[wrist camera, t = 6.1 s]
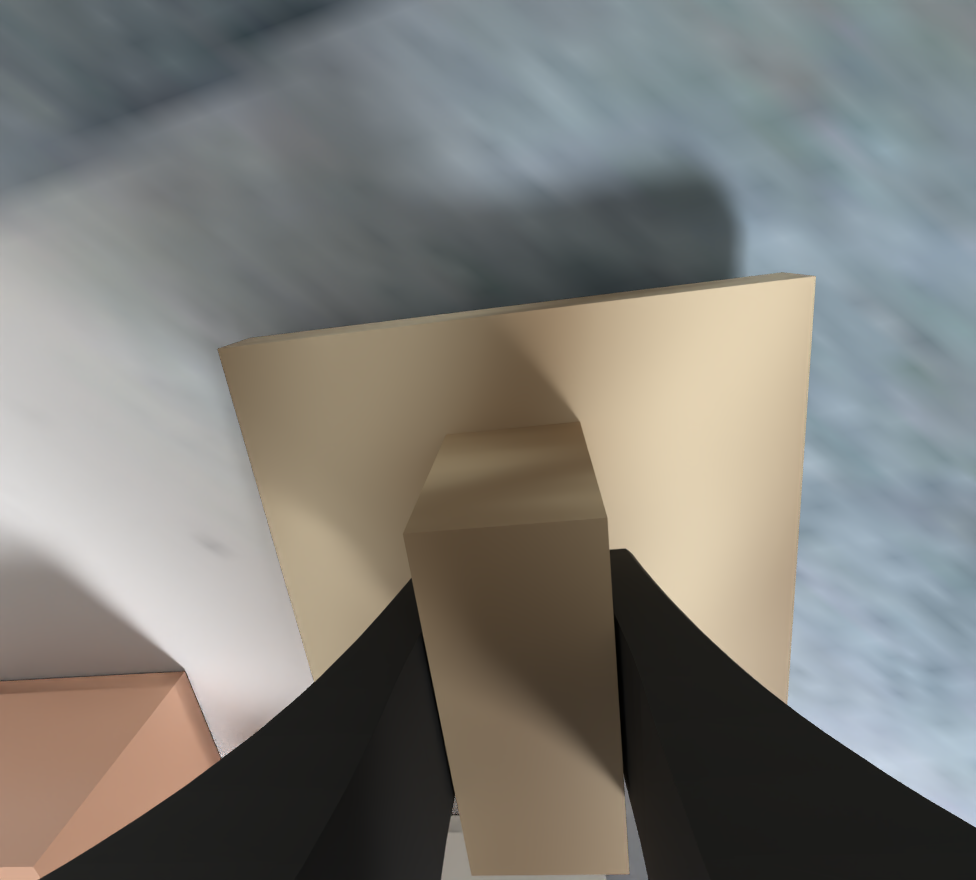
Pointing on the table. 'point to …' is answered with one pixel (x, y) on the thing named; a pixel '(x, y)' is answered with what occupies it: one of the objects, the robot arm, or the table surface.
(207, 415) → the table surface
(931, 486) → the table surface
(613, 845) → the lid
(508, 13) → the table surface
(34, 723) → the salmon open box
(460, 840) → the white open box
